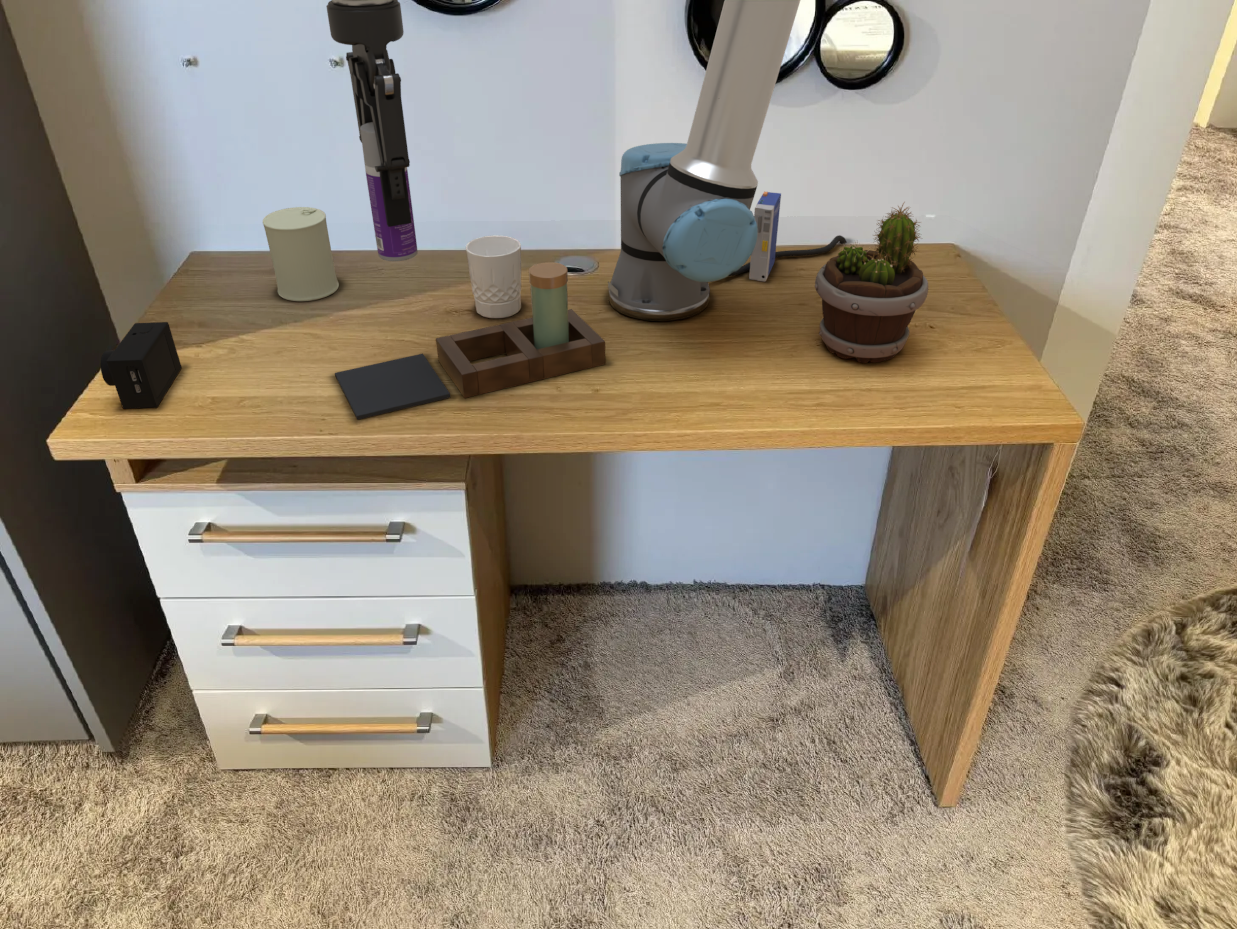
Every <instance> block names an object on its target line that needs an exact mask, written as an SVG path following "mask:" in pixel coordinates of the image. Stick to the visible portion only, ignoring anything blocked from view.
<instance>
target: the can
mask: <svg viewBox="0 0 1237 929" xmlns="http://www.w3.org/2000/svg"><path fill="white" fill-rule="evenodd" d="M262 225H263V228H264V232H265V235H266V236H265V237H266V241H267V245H268V249H269V253H270V258H271V262H272V267H273V272H274V276H275V281H276V286H277V294H278V296H279V297H281V298H283V299H284V300H286V301H290V302H291V301H292V302H311V301H318V300H321V299H325V298H326V297H329V296H331V295H333V294H334V293H336V292H337V290H338V289H339V287H340V283H339V281H338V278H337V272H336V268H335V263H334V258H333V253H332V247H331V241H330V235H329V229H328V223H327V215H326V213H325V211H323V210H322V209H319V208H316V207H309V206H295V207H287V208H282V209H278V210H275V211H272V212H271V213H268V214H266V215H265V216H264V217H263V219H262Z"/></svg>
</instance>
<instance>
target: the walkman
mask: <svg viewBox="0 0 1237 929" xmlns="http://www.w3.org/2000/svg"><path fill="white" fill-rule="evenodd" d="M781 199H782V193H781V192H772V191H771V192H770V191H763V193H762V194H761V196H760V198H759V200H758V201H757V203H756V205H755V207H754V213H753V215H754V217H755V221H756V223H757V228H758V236H757V242H756V245H755V248H754V250H753V252H752V254H751V256H750V261H749V262H750V269H749V275H748V277H749V278H748V279H749V280H753V281H758V282H766V281H767V279H768V277H769V275H770V273H771V271H772V268H773V266H774V264H775V261H776V258H775V252H777V241H778V230H779V219H780V209H781Z"/></svg>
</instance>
